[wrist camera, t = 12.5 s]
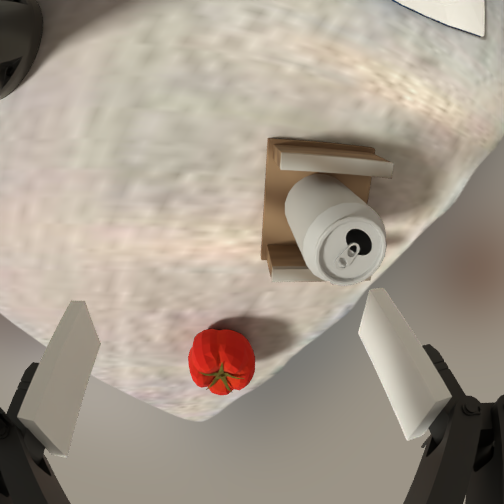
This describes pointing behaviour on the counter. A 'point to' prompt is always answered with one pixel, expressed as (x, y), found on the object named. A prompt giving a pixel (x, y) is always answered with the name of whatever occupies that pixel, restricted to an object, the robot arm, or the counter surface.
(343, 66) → the counter surface
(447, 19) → the plate
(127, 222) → the counter surface
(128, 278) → the counter surface
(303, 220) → the can
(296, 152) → the cradle holder
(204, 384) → the tomato
